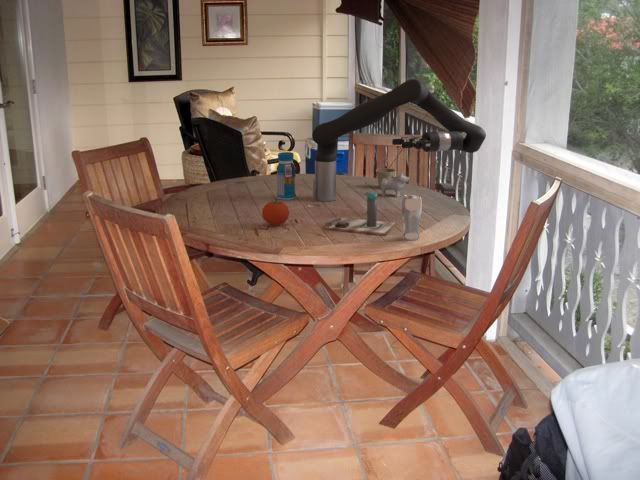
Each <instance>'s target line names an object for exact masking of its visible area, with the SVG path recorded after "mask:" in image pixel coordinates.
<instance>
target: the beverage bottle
mask: <svg viewBox="0 0 640 480" xmlns="http://www.w3.org/2000/svg"><path fill="white" fill-rule="evenodd" d="M277 160H278V162H279V163H278V164H277V166H276V171H277V172H276V175H275V176H276V180H277V181H276V183H277V184H276V188H277V189H276V190H277V199H279V200H281V199H282V201H287V200H288V201H290V200H294V199H295V198H296V196H297V195H296V177H297V176H296V171H295V170H296V166H295V164H294V162H293V161H294V152H288V151H282V152H279V153H278V154H277Z"/></svg>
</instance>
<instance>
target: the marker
mask: <svg viewBox="0 0 640 480" xmlns="http://www.w3.org/2000/svg"><path fill="white" fill-rule="evenodd" d="M377 211H378V192H375V191H368V192H367V193H366V220H367V226H368V227H376V222H377V221H378V220H377V219H378V218H377V213H378V212H377Z"/></svg>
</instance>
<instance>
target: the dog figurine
mask: <svg viewBox="0 0 640 480" xmlns="http://www.w3.org/2000/svg"><path fill="white" fill-rule="evenodd" d="M391 179H392V180H387V179H382V180H381V184H380V185H381V188H382V189H380V191H381V197H386V195H387V191H391V190H393V191H394V192H395V195H396V198H400V196H401V195H402V194H401V192H400V191H401V190H403V189H404V187H405V184H406V183H408V182H409V180H410V177H409V176H406V175H404V172H400V173H399V174H398V175H397V176H396V175H395V174H394V175H393V176H391Z"/></svg>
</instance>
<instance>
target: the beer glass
mask: <svg viewBox="0 0 640 480" xmlns="http://www.w3.org/2000/svg"><path fill="white" fill-rule="evenodd" d="M422 199H423V198H422V196H421V195H419V194H405V195H403V196H402V202H401V218H402V224H403V225H402V227H403V231H402V236H401V238H402V239H403V240H405V241H410V240H413V241H418V240H420V233H419V231H420V230H419V229H420V223H421V222H420V221H421V218H422V217H421V216H422V210H423V201H422Z"/></svg>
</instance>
